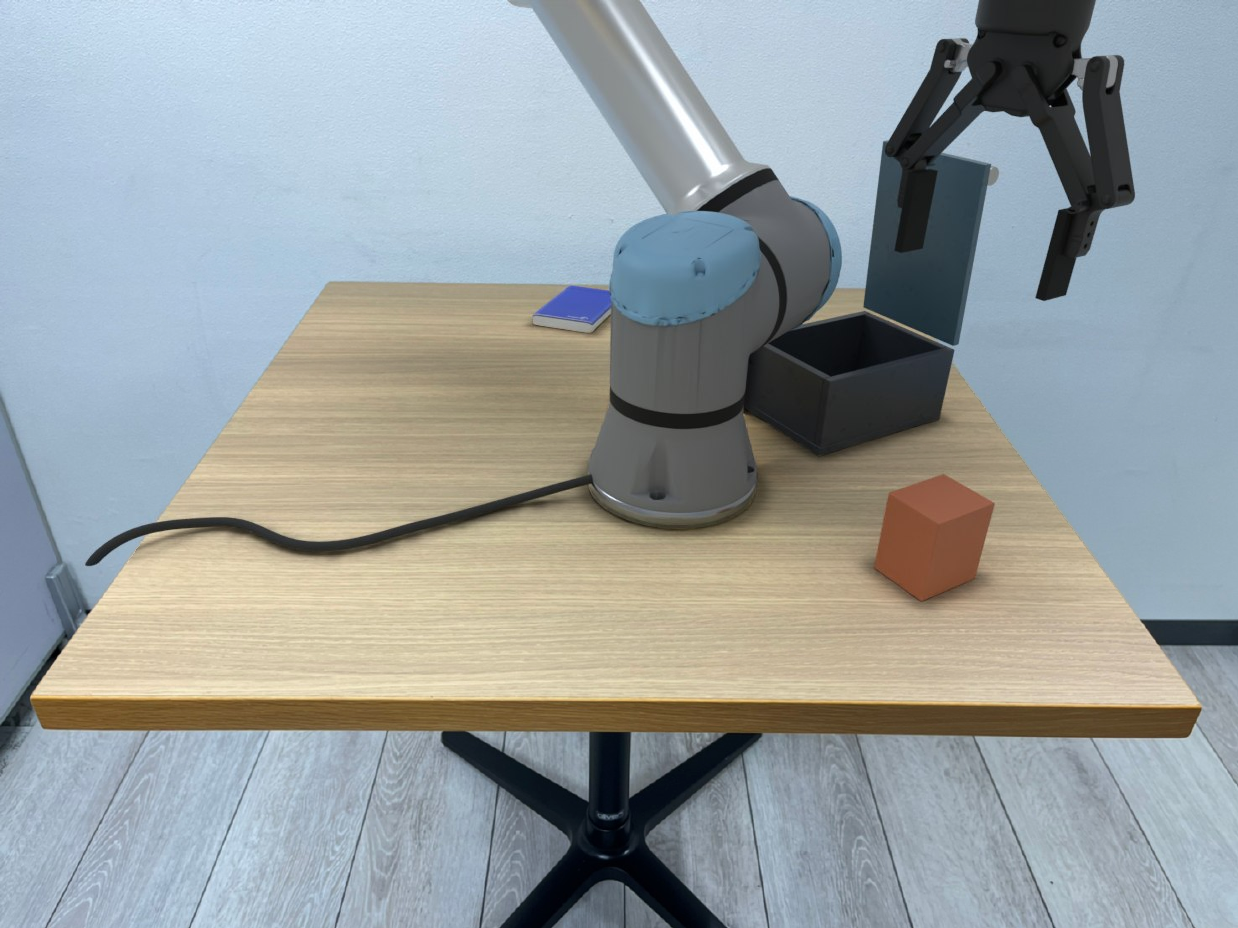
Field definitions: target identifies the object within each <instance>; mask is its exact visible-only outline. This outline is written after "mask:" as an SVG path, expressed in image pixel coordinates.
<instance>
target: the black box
mask: <svg viewBox="0 0 1238 928" xmlns="http://www.w3.org/2000/svg"><path fill="white" fill-rule="evenodd" d="M955 351H956V349H954V348H952V347H950V346H948V345H945V344H942V343H940V342H938V341H935V340H934V339H931V338H929V337H926V336H924V335H921V334H919V333H917V332H915V331H912V330H910V329H908V328H906V327H903V326H901V325H899V324H897V323H894V322H892V321H890V320H887V319H885V318H883V317H880V316H878V315H876V314H873V313H871V312H869V311H866V310H862V311H858V312H853V313H848V314H843V315H839V316H834V317H830V318H825V319H820V320H815V321H812V322H805V323H803V324H802V325H800V326H799V327H798V328H795V329H793V330H791V331H787V332H786V333H784V334H783V335H781V336H779V337H778V338H776V339H774V340H773V341H771V342H769V343H768V344H766V345H764V346H763V347H761V348H759V349H757V350H756V351H754V352H753V353H751V354H750V355H749V359H748V368H747V379H746V389H745V397H744V408H743V410H744V411H747V412H748V413H750V414H752V415H753V416H755V417H757V418H758V419H760V420H761V421H763V422H764V423H766V424H767V425H769V426H771V427H772V428H774V429H775V430H776V431H779V432H780V433H781V434H784V435H785V436H787V438H790V439H791V440H792V441H794V442H796V443H798V444H799V445H801V446H802V447H804V448H806V449H807V450H809V451H811V452H812V453H813V454H815V455H817V456H818V457H821V456H823V455H827V454H830V453H834V452H837V451H841V450H843V449H846V448H850V447H853V446H856V445H859V444H863V443H866V442H869V441H873V440H876V439H879V438H882V437H885V436H889V435H892V434H896V433H899V432H902V431H906V430H909V429H912V428H915V427H919V426H921V425H925V424H929V423H932V422H935V421H939V420H940V419H941V414H942V409H943V406H944V401H945V396H946V391H947V387H948V382H949V377H950V373H951V369H952V364H953V361H954V354H955Z"/></svg>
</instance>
